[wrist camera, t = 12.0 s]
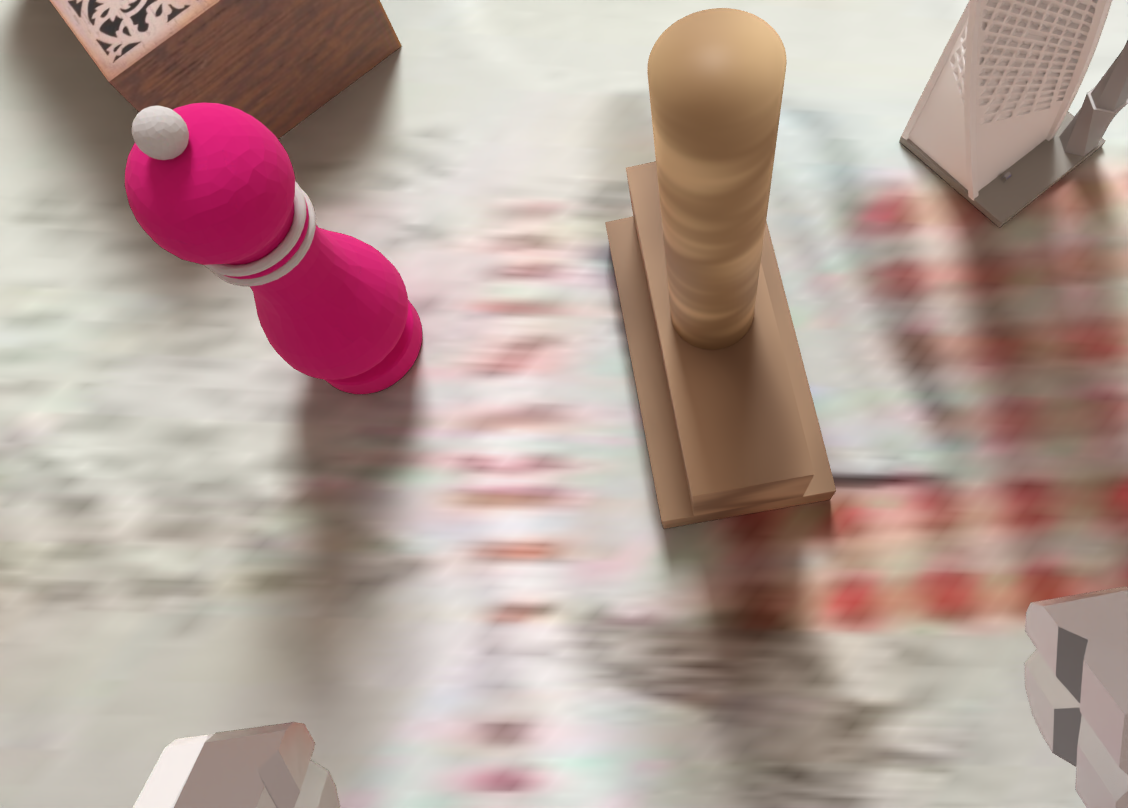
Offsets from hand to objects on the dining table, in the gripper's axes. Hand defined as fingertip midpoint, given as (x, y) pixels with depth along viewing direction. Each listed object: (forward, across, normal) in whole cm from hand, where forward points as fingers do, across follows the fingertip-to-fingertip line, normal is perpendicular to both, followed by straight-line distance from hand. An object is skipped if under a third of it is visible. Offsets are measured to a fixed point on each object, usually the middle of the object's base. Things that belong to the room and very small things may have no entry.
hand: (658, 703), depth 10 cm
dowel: (+28, +4, -7) cm, 29 cm away
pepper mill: (+37, -14, -8) cm, 40 cm away
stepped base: (+33, +4, -11) cm, 35 cm away
